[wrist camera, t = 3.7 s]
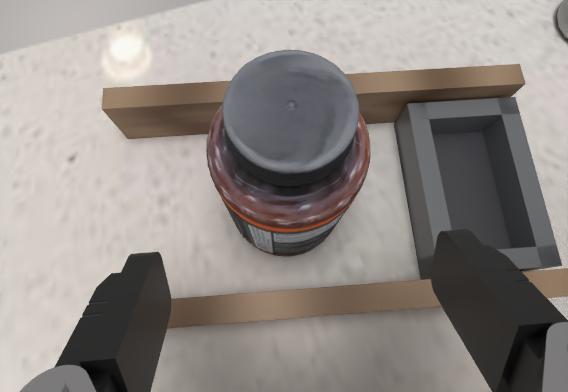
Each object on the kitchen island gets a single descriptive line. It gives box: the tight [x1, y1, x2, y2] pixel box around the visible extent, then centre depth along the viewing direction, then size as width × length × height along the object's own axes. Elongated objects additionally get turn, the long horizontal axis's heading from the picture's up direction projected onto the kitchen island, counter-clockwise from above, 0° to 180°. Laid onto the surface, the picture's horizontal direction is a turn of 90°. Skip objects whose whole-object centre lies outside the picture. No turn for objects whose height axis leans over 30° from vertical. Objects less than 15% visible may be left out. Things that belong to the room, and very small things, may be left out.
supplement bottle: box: [207, 50, 370, 256], centre depth 16 cm, size 6×6×11 cm
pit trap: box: [394, 97, 562, 279], centre depth 21 cm, size 6×9×2 cm, turn 4°
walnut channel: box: [102, 64, 568, 328], centre depth 20 cm, size 22×12×4 cm, turn 94°
